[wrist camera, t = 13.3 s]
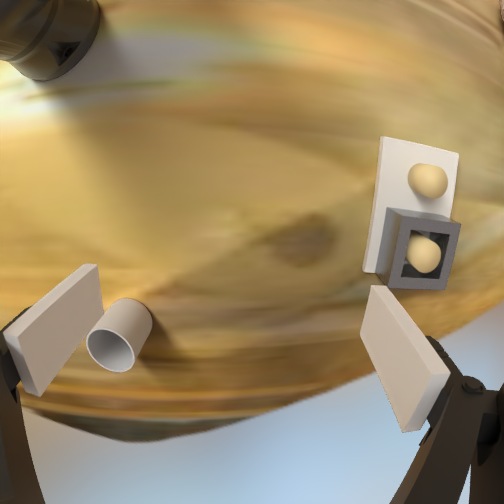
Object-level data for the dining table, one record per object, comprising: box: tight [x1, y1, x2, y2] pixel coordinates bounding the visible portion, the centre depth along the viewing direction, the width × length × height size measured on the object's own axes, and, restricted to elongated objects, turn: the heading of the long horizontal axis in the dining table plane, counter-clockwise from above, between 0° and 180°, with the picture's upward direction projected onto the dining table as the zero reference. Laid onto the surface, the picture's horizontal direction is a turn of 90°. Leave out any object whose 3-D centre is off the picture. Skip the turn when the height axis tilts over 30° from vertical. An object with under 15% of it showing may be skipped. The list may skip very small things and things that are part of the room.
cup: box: [86, 298, 153, 373], centre depth 42 cm, size 7×10×9 cm
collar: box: [375, 207, 461, 290], centre depth 37 cm, size 9×9×5 cm
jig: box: [362, 136, 459, 273], centre depth 36 cm, size 18×12×7 cm, turn 176°
